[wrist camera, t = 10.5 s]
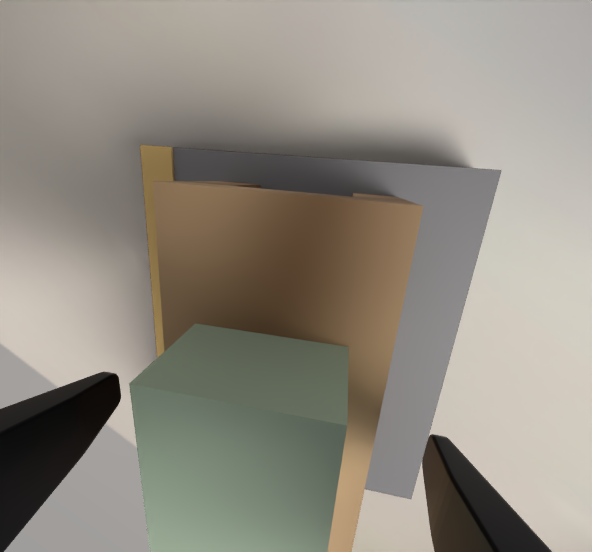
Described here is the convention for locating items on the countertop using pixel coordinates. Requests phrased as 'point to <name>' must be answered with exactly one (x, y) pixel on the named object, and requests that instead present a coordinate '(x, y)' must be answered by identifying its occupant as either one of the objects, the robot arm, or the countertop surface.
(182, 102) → the countertop surface
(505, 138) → the countertop surface
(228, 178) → the dock
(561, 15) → the countertop surface
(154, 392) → the pale green block
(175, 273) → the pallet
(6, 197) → the countertop surface
